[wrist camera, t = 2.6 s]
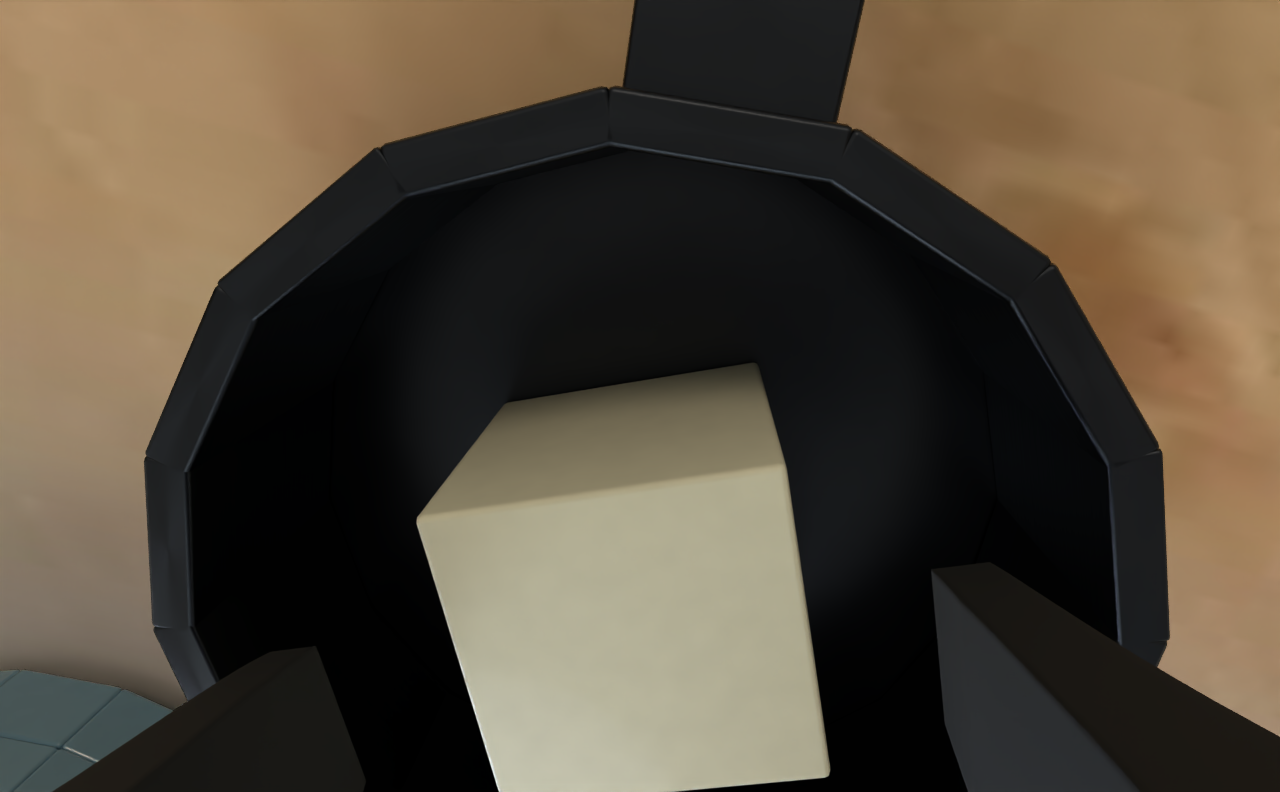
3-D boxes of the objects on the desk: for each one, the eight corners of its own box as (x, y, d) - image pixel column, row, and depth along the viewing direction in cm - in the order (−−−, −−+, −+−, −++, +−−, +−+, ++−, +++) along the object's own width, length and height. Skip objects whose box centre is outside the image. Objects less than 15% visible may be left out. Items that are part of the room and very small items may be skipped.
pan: (1197, -4, 11) (1507, -99, 7) (873, 914, 17) (931, 1170, 12) (324, -145, 11) (99, -323, 7) (302, 806, 17) (171, 1022, 13)
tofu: (757, 360, 13) (786, 464, 8) (792, 590, 14) (832, 780, 10) (503, 401, 13) (411, 519, 9) (558, 619, 14) (501, 810, 10)
